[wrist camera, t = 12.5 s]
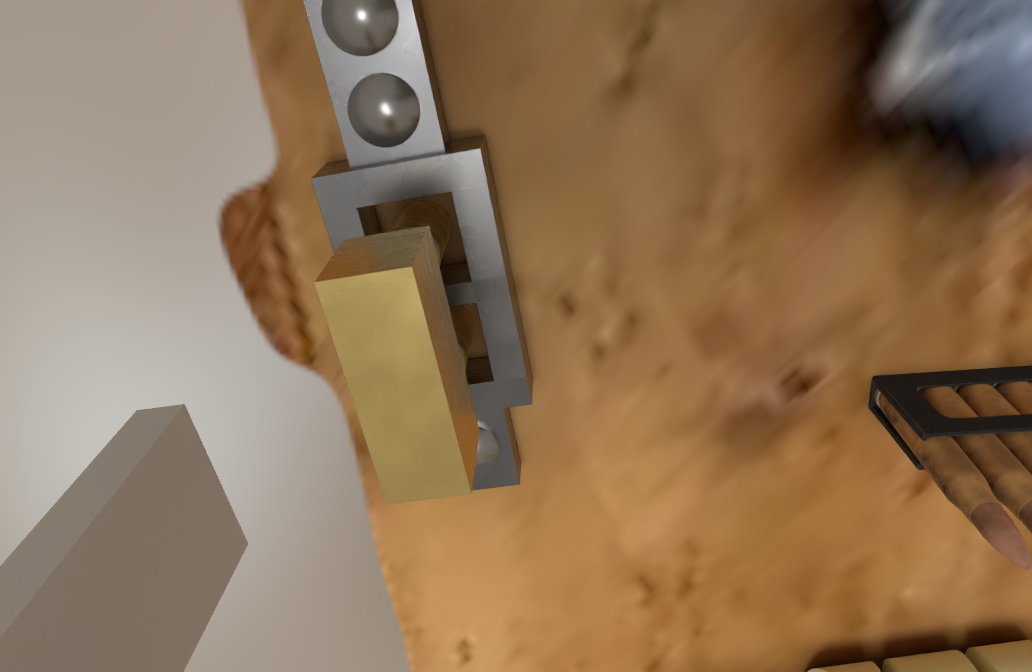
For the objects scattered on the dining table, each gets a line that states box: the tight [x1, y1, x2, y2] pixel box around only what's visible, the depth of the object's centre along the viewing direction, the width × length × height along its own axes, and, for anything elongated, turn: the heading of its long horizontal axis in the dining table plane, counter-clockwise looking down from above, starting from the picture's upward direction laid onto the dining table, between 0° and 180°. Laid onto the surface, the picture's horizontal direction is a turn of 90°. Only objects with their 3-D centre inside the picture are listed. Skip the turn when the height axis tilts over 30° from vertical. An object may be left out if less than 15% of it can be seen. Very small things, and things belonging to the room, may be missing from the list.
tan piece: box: [314, 201, 480, 504], centre depth 31 cm, size 9×3×10 cm, turn 10°
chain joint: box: [303, 0, 533, 490], centre depth 34 cm, size 24×7×2 cm, turn 10°
